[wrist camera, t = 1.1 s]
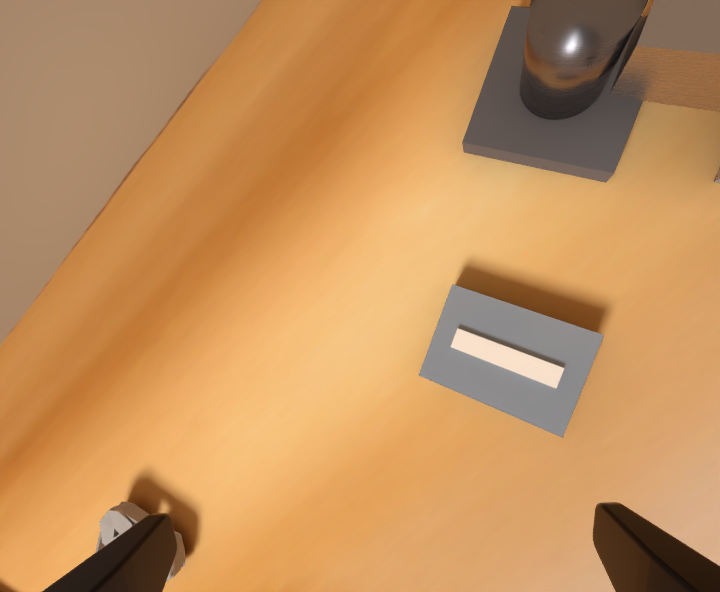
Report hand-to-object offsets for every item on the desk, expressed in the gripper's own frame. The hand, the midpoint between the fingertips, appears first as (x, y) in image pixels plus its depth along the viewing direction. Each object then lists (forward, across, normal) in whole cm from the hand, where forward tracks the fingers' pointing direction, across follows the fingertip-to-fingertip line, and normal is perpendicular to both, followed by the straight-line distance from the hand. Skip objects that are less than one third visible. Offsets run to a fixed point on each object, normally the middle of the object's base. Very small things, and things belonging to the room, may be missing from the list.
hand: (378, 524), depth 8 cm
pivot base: (+14, -10, -11) cm, 21 cm away
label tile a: (+11, -6, +1) cm, 13 cm away
